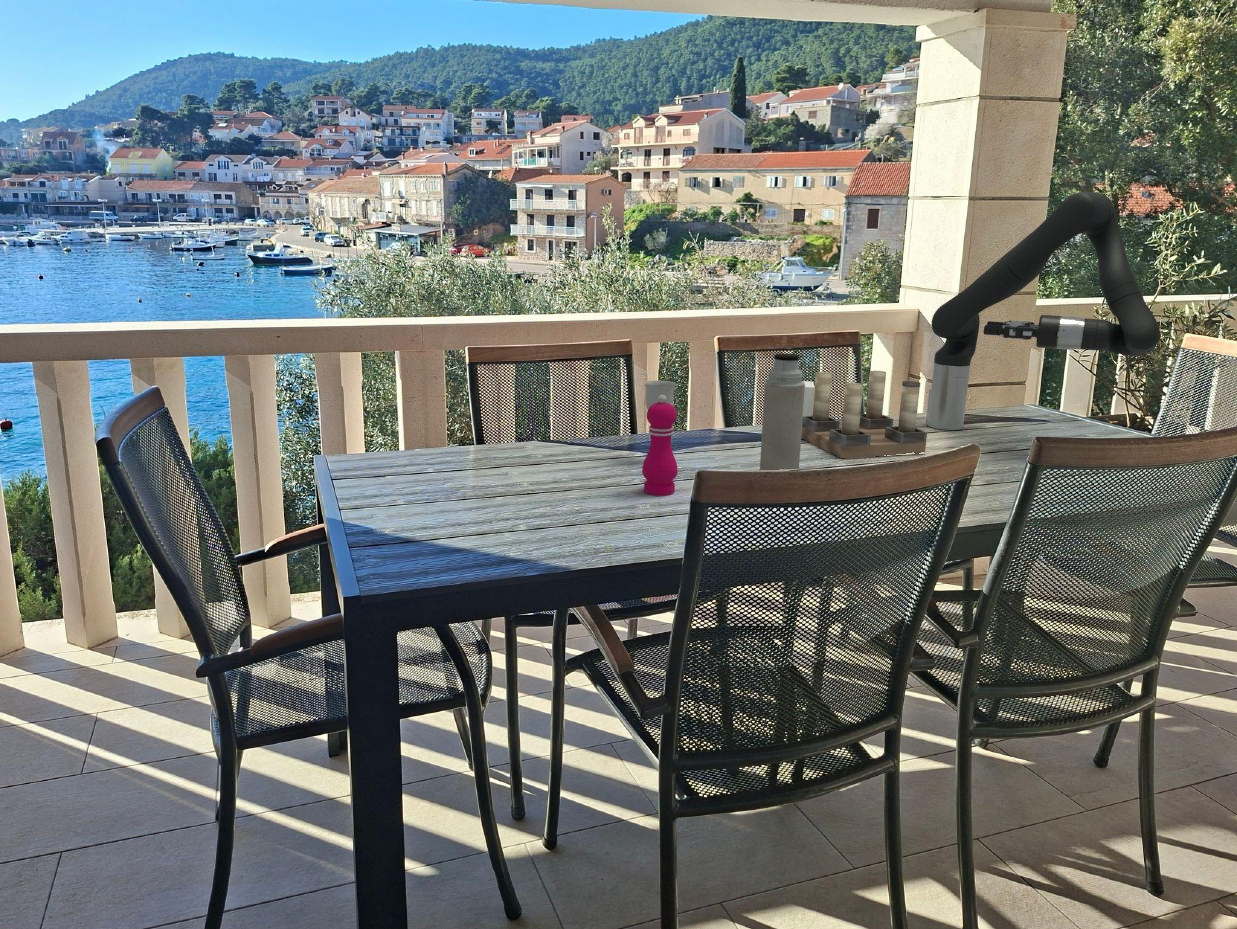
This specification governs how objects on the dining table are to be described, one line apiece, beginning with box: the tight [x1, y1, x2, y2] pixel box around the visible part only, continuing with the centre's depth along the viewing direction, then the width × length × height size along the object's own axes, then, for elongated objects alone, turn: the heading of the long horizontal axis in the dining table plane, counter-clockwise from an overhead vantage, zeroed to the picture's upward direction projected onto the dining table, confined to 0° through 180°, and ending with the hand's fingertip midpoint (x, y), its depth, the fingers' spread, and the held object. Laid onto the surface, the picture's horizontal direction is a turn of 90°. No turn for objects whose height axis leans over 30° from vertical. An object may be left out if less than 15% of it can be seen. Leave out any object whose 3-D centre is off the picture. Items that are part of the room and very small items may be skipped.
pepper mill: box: [641, 395, 679, 497], centre depth 191 cm, size 7×7×20 cm
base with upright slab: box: [802, 380, 815, 416], centre depth 250 cm, size 9×9×12 cm
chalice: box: [643, 380, 677, 411], centre depth 214 cm, size 7×7×18 cm
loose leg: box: [897, 380, 921, 433], centre depth 227 cm, size 4×4×14 cm
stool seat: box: [801, 370, 928, 459], centre depth 232 cm, size 22×22×17 cm
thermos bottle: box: [759, 353, 805, 471], centre depth 194 cm, size 8×8×28 cm
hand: (985, 327), depth 224 cm, fingers open, 8 cm apart
